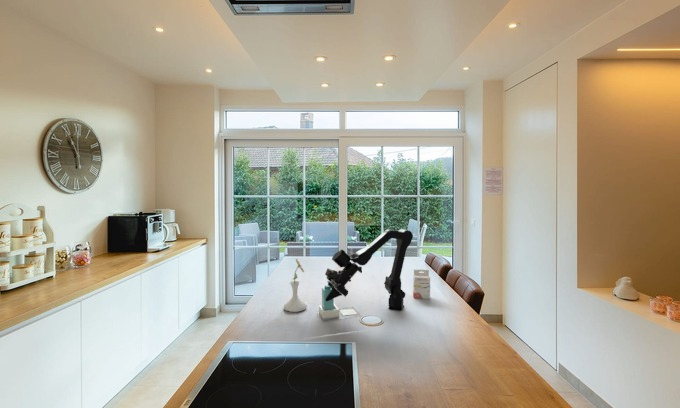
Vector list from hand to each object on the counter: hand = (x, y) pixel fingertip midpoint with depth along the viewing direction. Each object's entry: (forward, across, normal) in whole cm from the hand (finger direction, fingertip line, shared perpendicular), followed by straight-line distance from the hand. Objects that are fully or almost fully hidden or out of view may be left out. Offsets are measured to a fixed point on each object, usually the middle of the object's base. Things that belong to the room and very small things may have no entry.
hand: (324, 298), depth 159 cm
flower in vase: (+14, -13, -2) cm, 20 cm away
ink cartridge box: (-34, -10, +46) cm, 58 cm away
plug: (+4, 0, +6) cm, 7 cm away
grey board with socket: (+1, 0, +10) cm, 10 cm away
